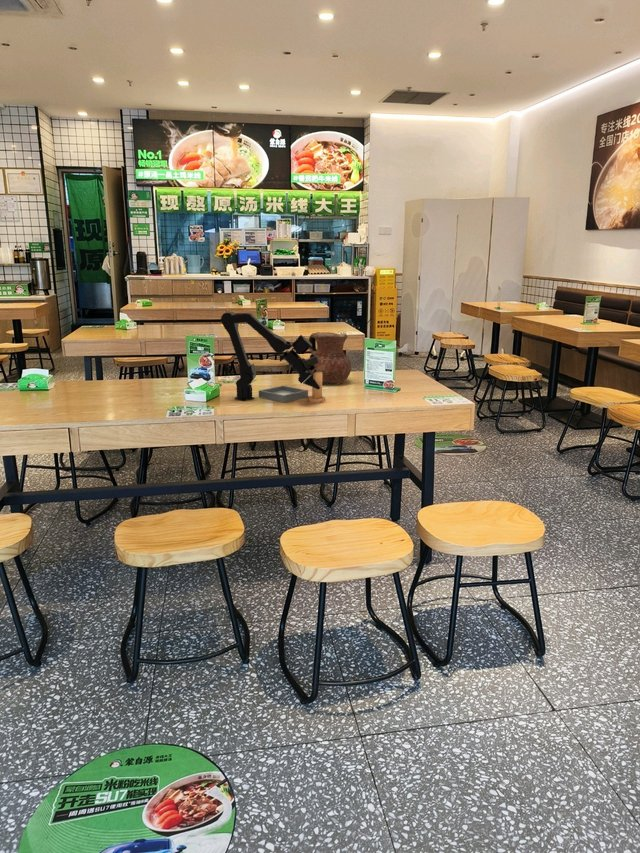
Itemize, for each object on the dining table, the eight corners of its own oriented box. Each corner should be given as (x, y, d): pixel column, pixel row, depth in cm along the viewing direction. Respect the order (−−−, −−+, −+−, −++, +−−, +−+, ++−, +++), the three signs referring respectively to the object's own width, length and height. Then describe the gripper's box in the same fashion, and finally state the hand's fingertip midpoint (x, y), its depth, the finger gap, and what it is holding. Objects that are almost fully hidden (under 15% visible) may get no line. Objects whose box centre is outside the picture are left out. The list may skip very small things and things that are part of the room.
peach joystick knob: (317, 403, 273) (318, 374, 270) (305, 401, 278) (305, 372, 274) (328, 401, 279) (328, 372, 275) (316, 398, 283) (316, 370, 280)
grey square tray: (283, 402, 275) (283, 395, 274) (258, 397, 285) (258, 390, 284) (308, 396, 287) (308, 390, 286) (283, 391, 297) (283, 385, 296)
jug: (351, 378, 329) (352, 331, 322) (351, 387, 309) (352, 336, 302) (309, 378, 330) (309, 330, 323) (306, 386, 309) (306, 335, 303)
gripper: (306, 352, 264) (331, 378, 265) (311, 345, 281) (335, 370, 283) (287, 370, 266) (313, 396, 268) (293, 362, 284) (317, 387, 286)
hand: (320, 386), depth 276 cm, fingers open, 7 cm apart
